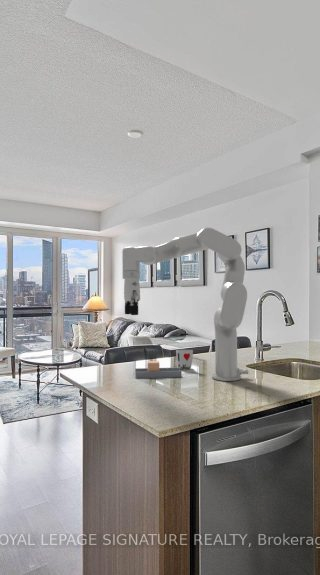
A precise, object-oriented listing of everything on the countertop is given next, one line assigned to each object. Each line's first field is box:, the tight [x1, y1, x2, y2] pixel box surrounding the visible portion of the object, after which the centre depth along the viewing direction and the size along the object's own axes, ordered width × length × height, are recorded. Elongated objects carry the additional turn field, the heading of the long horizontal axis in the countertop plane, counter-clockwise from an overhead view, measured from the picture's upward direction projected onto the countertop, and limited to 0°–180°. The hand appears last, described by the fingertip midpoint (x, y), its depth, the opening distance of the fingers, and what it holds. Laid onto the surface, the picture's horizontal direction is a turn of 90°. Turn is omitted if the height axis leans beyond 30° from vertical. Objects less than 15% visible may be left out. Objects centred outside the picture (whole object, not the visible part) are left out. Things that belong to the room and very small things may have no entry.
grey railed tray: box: [134, 366, 182, 379], centre depth 168 cm, size 20×9×4 cm, turn 94°
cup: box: [175, 349, 194, 371], centre depth 183 cm, size 8×8×10 cm
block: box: [147, 360, 160, 372], centre depth 167 cm, size 5×5×6 cm
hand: (131, 314), depth 164 cm, fingers open, 9 cm apart
